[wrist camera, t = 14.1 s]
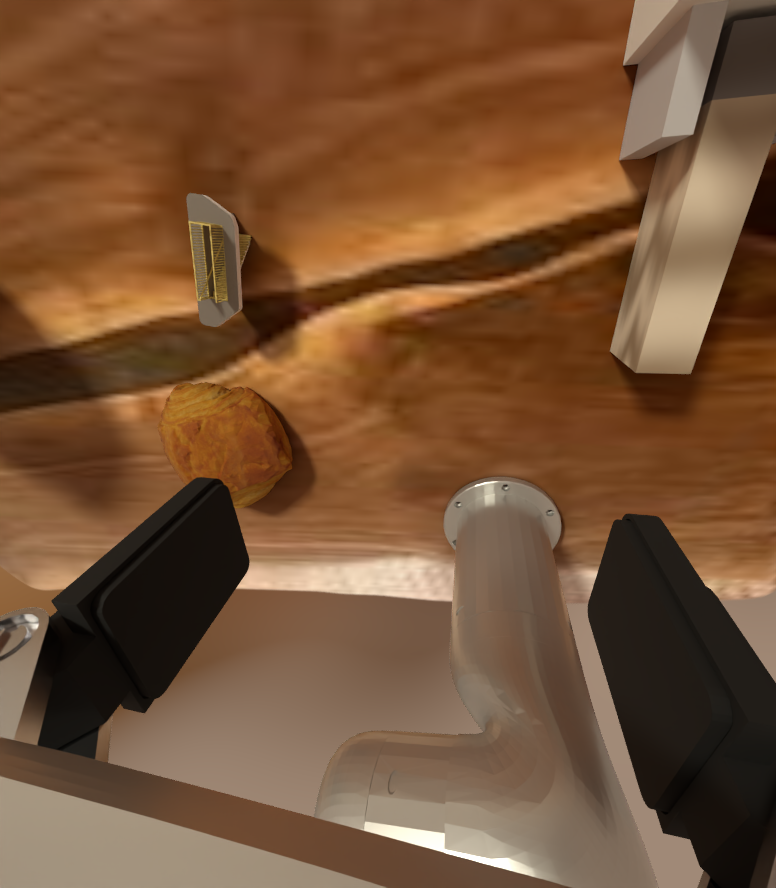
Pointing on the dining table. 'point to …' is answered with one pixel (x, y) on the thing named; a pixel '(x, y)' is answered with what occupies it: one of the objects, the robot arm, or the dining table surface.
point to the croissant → (225, 439)
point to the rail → (699, 206)
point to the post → (675, 66)
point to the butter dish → (216, 259)
